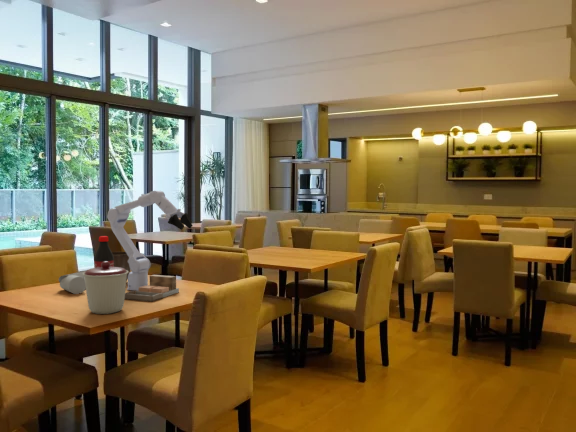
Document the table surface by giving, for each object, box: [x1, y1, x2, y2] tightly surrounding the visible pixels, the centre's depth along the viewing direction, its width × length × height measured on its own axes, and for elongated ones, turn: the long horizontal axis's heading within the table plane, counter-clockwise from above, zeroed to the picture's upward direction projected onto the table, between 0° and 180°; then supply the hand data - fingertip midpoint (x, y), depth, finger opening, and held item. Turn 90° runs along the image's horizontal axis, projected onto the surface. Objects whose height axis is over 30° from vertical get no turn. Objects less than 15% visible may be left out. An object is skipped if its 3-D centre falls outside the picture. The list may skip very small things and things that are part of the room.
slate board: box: [136, 287, 180, 298], centre depth 254 cm, size 15×14×2 cm
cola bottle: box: [93, 235, 114, 268], centre depth 234 cm, size 8×8×30 cm
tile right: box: [151, 286, 169, 293], centre depth 250 cm, size 6×6×2 cm
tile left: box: [139, 284, 157, 292], centre depth 253 cm, size 6×6×2 cm
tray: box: [124, 290, 164, 303], centre depth 244 cm, size 16×8×2 cm, turn 69°
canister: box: [83, 261, 129, 315], centre depth 218 cm, size 18×18×21 cm
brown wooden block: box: [149, 274, 177, 290], centre depth 258 cm, size 13×4×6 cm, turn 69°
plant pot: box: [111, 251, 131, 283], centre depth 284 cm, size 15×15×16 cm
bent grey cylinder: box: [58, 270, 87, 295], centre depth 264 cm, size 18×10×20 cm
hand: (187, 227), depth 253 cm, fingers open, 7 cm apart
